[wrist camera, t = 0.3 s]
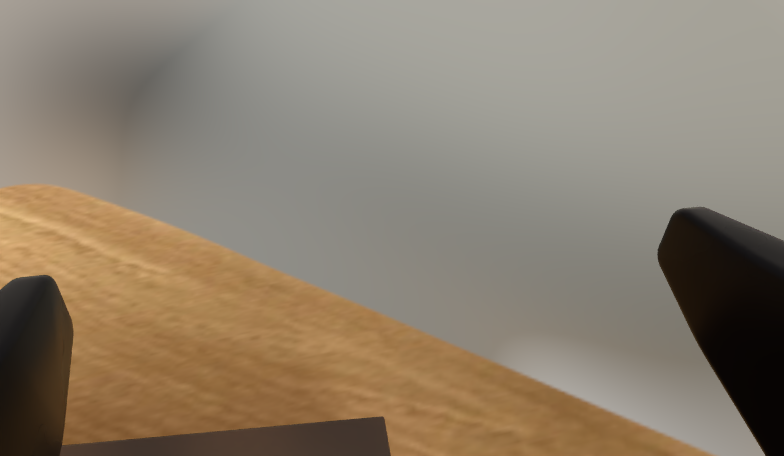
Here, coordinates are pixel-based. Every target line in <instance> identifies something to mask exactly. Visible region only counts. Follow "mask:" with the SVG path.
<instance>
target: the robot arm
mask: <svg viewBox="0 0 784 456" xmlns="http://www.w3.org/2000/svg"><path fill="white" fill-rule="evenodd" d="M658 262H659V264H660V267H661V269H662V271H663V273H664V275H665V277H666V279H667V282H668V284H669V286H670V287H671V290H672V292H673V294H674V296H675V298H676V300H677V302H678V304H679V307H680V309H681V311H682V313H683V315H684V317H685V319H686V321H687V323H688V325H689V327H690V329H691V332H692V333H693V335H694V337H695V339H696V341H697V343H698V345H699V347H700V348H701V350H702V352H703V354H704V355H705V357H706V359H707V360H708V362H709V364H710V365H711V367H712V369H713V370H714V372H715V374H716V375H717V377H718V378H719V380H720V381H721V383H722V385H723V387H724V388H725V390H726V392H727V393H728V395H729V397H730V398H731V400H732V401H733V403H734V405H735V406H736V408H737V409H738V411H739V413H740V415H741V416H742V418H743V419H744V421H745V423H746V424H747V426H748V428H749V429H750V431H751V432H752V434H753V436H754V437H755V439H756V441H757V442H758V444H759V446H760V447H761V449H762V451H763V452H764V454H765V456H784V241H783V240H781V239H778V238H776V237H774V236H771V235H769V234H766V233H764V232H762V231H759V230H757V229H754V228H752V227H750V226H747V225H745V224H743V223H741V222H738V221H736V220H734V219H731V218H729V217H726V216H724V215H722V214H719V213H717V212H715V211H712V210H710V209H707V208H705V207H692V208H683V209H679V210H677V211H676V212H675V213H674V214H673V215H672V217H671V219H670V221H669V224H668V226H667V229H666V231H665V233H664V236H663V238H662V241H661V243H660V245H659V248H658ZM72 345H73V324H72V320H71V317H70V315H69V312H68V310H67V308H66V305H65V303H64V300H63V298H62V296H61V293H60V291H59V289H58V286H57V284H56V282H55V281H54V279H53V278H52V277H50V276H48V275H39V276H29V277H20V278H16V279H14V280H12V281H10V282H9V283H8V284H7V285H5V286H4V287H3V288H2V289H1V290H0V456H60V452H61V447H62V441H63V433H64V425H65V415H66V405H67V395H68V385H69V375H70V365H71V355H72Z"/></svg>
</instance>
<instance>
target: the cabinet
mask: <svg viewBox="0 0 784 456" xmlns="http://www.w3.org/2000/svg"><path fill="white" fill-rule="evenodd" d="M60 456H391V454H390V448H389V443H388V437H387V431H386V425H385V419H384V417H372V418H361V419H350V420H339V421H328V422H317V423H306V424H294V425H283V426H272V427H261V428H250V429H239V430H228V431H217V432H206V433H195V434H184V435H173V436H162V437H151V438H140V439H129V440H118V441H107V442H96V443H85V444H74V445H63V446H62V447H61V452H60Z"/></svg>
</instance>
